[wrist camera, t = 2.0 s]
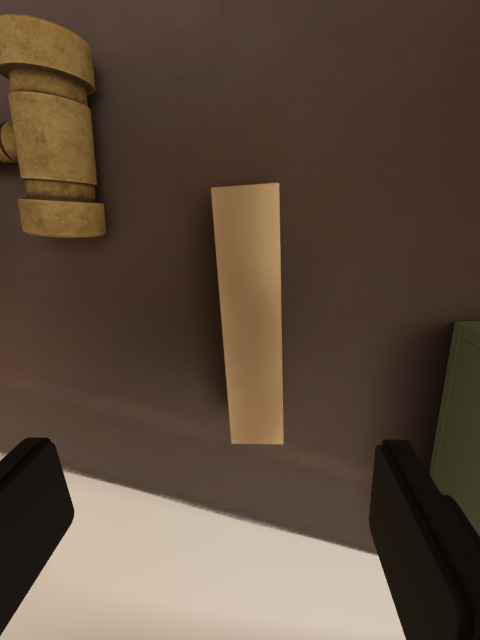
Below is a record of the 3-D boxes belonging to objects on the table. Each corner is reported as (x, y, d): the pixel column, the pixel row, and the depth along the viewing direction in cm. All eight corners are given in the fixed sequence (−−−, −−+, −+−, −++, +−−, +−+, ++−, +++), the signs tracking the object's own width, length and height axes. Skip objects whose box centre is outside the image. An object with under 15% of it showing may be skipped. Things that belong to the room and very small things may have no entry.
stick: (277, 188, 20) (279, 182, 16) (281, 405, 25) (283, 444, 21) (222, 192, 20) (210, 187, 16) (237, 405, 25) (231, 443, 21)
